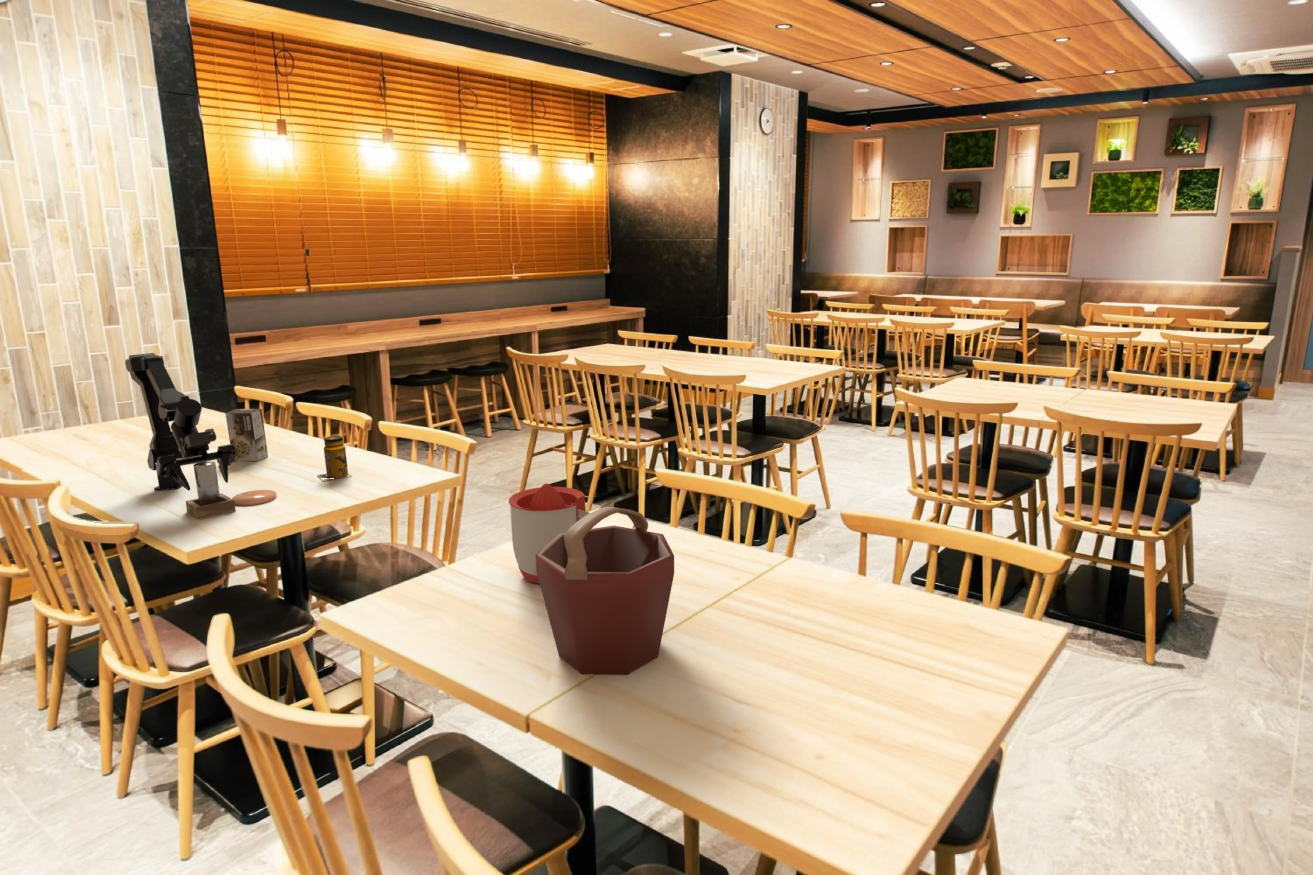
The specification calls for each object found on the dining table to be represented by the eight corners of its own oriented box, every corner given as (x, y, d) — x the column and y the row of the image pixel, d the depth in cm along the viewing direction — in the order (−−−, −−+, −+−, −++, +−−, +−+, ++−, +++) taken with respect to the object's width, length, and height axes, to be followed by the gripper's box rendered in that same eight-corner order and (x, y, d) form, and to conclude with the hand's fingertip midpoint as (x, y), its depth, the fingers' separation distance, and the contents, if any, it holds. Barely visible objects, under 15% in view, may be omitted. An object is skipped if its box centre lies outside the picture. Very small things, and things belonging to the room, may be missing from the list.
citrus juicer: (585, 592, 165) (581, 496, 160) (502, 587, 168) (496, 493, 163) (603, 562, 180) (600, 474, 175) (527, 558, 183) (522, 471, 178)
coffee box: (269, 456, 273) (262, 408, 269) (258, 461, 267) (251, 412, 263) (243, 456, 274) (236, 408, 270) (231, 461, 268) (224, 412, 264)
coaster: (242, 493, 233) (241, 490, 233) (282, 492, 234) (282, 489, 233) (225, 506, 222) (225, 502, 222) (267, 504, 223) (267, 501, 223)
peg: (205, 508, 220) (198, 461, 217) (225, 508, 221) (218, 461, 218) (197, 514, 216) (189, 466, 212) (217, 514, 216) (210, 466, 213)
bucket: (600, 703, 126) (594, 548, 120) (508, 657, 140) (499, 517, 134) (701, 644, 143) (700, 506, 137) (610, 608, 158) (606, 482, 152)
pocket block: (187, 511, 218) (185, 501, 217) (223, 503, 224) (221, 493, 224) (198, 519, 212) (197, 508, 211) (235, 510, 218) (234, 500, 217)
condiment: (352, 476, 248) (347, 438, 245) (322, 481, 244) (317, 442, 241) (346, 471, 254) (341, 433, 251) (317, 476, 250) (312, 437, 247)
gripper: (151, 426, 209) (172, 476, 204) (229, 414, 222) (251, 461, 217) (147, 451, 216) (167, 500, 211) (223, 438, 229) (243, 484, 224)
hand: (208, 485), depth 216 cm, fingers open, 9 cm apart
